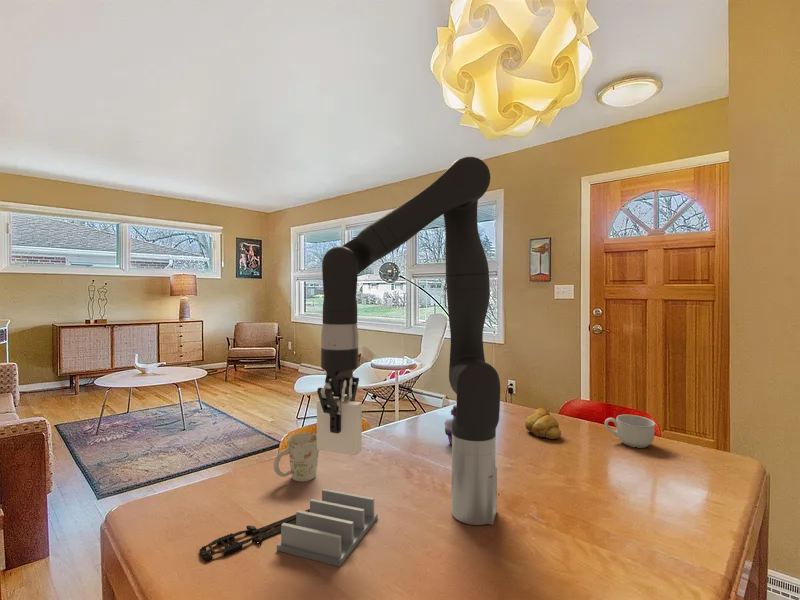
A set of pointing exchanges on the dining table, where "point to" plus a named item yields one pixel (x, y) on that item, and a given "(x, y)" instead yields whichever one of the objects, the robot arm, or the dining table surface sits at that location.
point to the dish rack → (329, 527)
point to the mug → (300, 457)
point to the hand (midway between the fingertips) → (339, 429)
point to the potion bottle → (450, 424)
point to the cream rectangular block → (350, 429)
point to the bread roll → (543, 424)
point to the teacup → (633, 430)
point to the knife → (237, 546)
